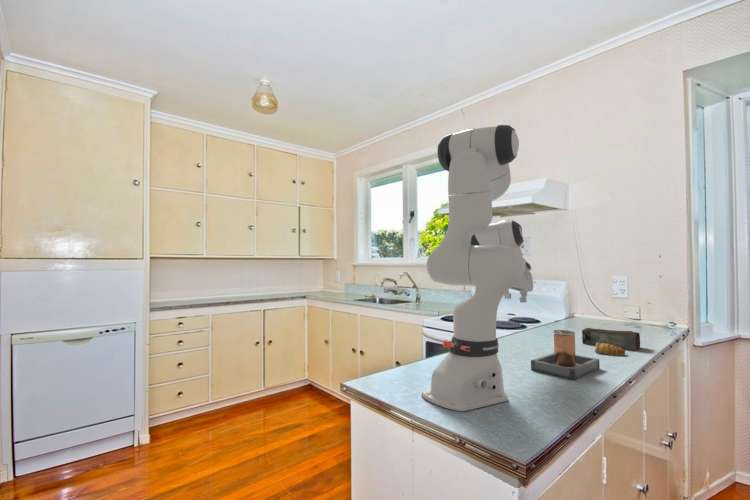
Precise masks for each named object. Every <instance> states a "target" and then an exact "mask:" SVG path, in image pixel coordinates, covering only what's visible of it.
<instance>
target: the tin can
mask: <svg viewBox="0 0 750 500" xmlns="http://www.w3.org/2000/svg"><path fill="white" fill-rule="evenodd" d="M553 350H554V351H553V353H554V362H555V363H554V365H559V366H563V367H568V368H573V367H575V366H576V359H575V355H576V331H572V330H568V329H567V330H566V329H556V330H553Z"/></svg>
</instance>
